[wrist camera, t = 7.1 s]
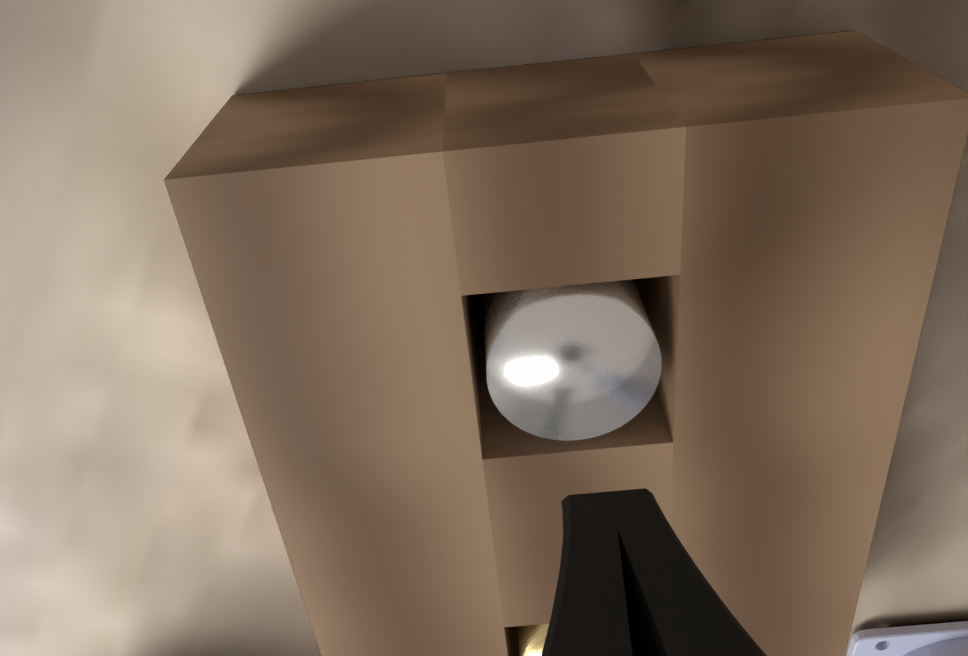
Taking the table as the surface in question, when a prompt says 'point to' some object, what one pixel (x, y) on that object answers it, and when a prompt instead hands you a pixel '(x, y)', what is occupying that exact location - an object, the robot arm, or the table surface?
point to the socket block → (571, 261)
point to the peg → (570, 357)
